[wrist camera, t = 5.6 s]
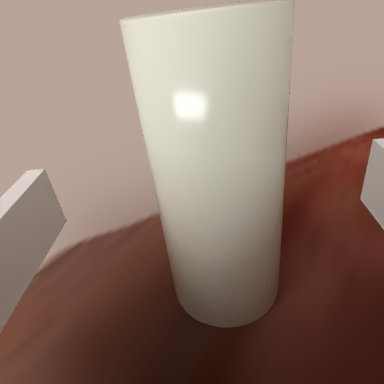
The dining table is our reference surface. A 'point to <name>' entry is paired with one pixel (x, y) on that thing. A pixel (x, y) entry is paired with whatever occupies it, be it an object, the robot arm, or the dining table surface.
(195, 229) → the canister
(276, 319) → the dining table surface
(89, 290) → the dining table surface
